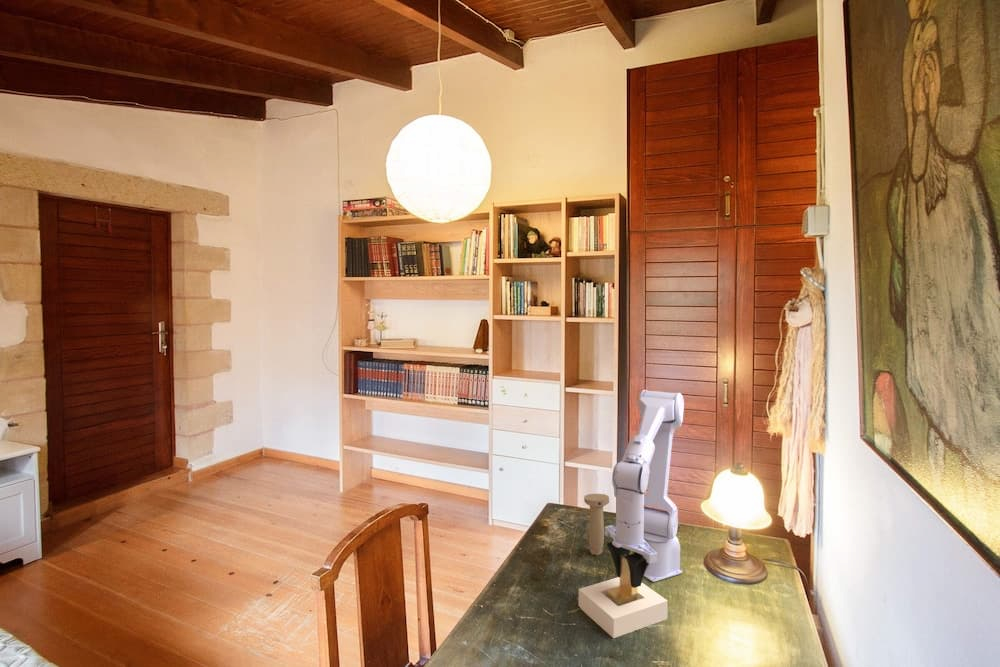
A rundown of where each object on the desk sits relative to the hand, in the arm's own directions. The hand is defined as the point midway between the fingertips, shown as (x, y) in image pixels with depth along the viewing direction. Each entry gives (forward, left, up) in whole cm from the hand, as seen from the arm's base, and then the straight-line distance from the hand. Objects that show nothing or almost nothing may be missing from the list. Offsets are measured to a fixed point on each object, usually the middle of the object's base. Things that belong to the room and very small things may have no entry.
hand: (628, 580), depth 114 cm
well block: (+2, 0, -7) cm, 7 cm away
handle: (-9, -24, -7) cm, 27 cm away
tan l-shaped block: (+2, 0, -3) cm, 4 cm away
